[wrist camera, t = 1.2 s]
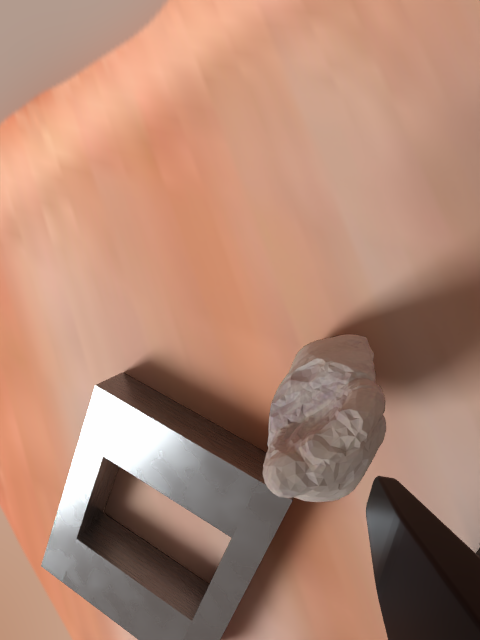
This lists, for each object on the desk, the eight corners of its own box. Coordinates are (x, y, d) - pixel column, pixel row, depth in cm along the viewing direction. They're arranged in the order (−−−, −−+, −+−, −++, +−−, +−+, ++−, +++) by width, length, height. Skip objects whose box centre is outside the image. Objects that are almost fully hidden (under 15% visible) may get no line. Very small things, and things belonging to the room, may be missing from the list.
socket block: (301, 472, 20) (292, 500, 18) (213, 642, 24) (197, 683, 21) (122, 372, 23) (95, 385, 20) (69, 539, 27) (41, 566, 24)
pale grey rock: (339, 431, 19) (314, 609, 10) (278, 401, 20) (200, 540, 11) (390, 332, 17) (416, 434, 8) (320, 303, 18) (272, 366, 9)
